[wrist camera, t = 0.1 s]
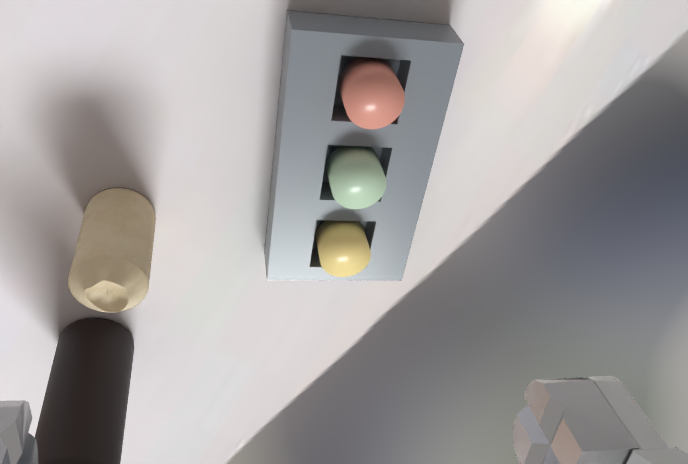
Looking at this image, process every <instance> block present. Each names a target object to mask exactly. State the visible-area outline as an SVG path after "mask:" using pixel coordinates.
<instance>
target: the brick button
mask: <svg viewBox="0 0 688 464" xmlns="http://www.w3.org/2000/svg"><path fill="white" fill-rule="evenodd" d="M339 92H340V95H341V98H342V101H343V104H344V107H345V110H346V113H347V115H348V117H349V119H350V120H351V121H352V122H353V123H354V124H356V125H357V126H359V127H362V128H365V129H379V128H382V127H385V126H387V125H389V124H390V123H392V122H393V121H394V120H395V119H396V118H397V117H398V116H399V115H400V113H401V112H402V109H403V107H404V103H405V94H404V90H403V88H402V86H401V84H400V82H399V80H398V78H397V76H396V74H395V72H394V70H393V68H392V67H391V65H390V64H389V63H388V62H387V61H385V60H384V59H382V58H370V57H360V58H357V59H355V60H353V61H352V62H350V63H349V64H348V65H347V66H346V67H345V68H344V70H343V71H342V73H341V75H340V78H339Z"/></svg>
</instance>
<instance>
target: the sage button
mask: <svg viewBox="0 0 688 464" xmlns="http://www.w3.org/2000/svg"><path fill="white" fill-rule="evenodd" d="M326 171H327V175H328V179H329V183H330V187H331V191H332V195H333V197H334V199H335V200H336V201H337V203H339V204H340V205H341V206H343V207H346V208H349V209H362V208H366V207H369V206H371V205H373V204H374V203H376V202H377V201H378V200H379V199H380V198H381V197H382V195H383V194H384V192H385V189H386V178H385V175H384V172H383V169H382V167H381V164H380V161H379V159H378V156H377V154H376V152H375V151H374V149H373V148H371V147H365V146H343V145H341V146H339V147H338V148H336V149H335V150H334V151H333V152H332V153H331V154H330V156H329V158H328V160H327V164H326Z"/></svg>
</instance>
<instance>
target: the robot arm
mask: <svg viewBox="0 0 688 464" xmlns="http://www.w3.org/2000/svg"><path fill="white" fill-rule="evenodd" d="M524 397H525V399H526V401H527V403H528V405H527V406H526V407H525V408H524V409H523V410H522V411H520V412H519V413H518V414H517V416H516V420H515V423H514V426H513V444H514V448H515V452H516V456H517V458H518V460H519V462H520V464H688V454H687V453H685V452H684V451H682V450H680V449H679V448H677V447H668V446H667V445H666V443H665V442H664V440H663V439H662V438H661V436H660V435H659V434H658V432H657V431H656V429H655V428H654V427H653V425H652V424H651V422H650V421H649V420H648V418H647V417H646V416H645V414H644V413H643V411H642V410H641V409H640V407H639V406H638V405H637V403H636V402H635V401H634V399H633V398H632V396H631V395H630V394H629V392H628V391H627V389H626V388H625V387H624V385H623V384H622V383H621V382H620V381H619V380H618V379H617V378H615V377H614V376H601V377H600V376H599V377H586V378H583V377H579V378H559V379H540V380H533V381H532V382H531V383H530V384H529V385H528V386H527V389H526V391H525V394H524ZM31 421H32V415H31V410H30V406H29V402H27V401H0V464H38V448H37V442H36V438H34V437H33V436H32V435H31V434H29V433H28V431H29V428H30V424H31Z"/></svg>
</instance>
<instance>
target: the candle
mask: <svg viewBox="0 0 688 464" xmlns="http://www.w3.org/2000/svg"><path fill="white" fill-rule="evenodd" d="M155 220H156V218H155V212H154V208H153V206H152V205H151V203H150V202H149V201H148V200H147V199H146V198H145V197H144V196H143V195H141V194H139V193H138V192H135V191H133V190H130V189H125V188H111V189H106V190H104V191H101V192H99V193H98V194H96V195H95V196H94V197H92V199H91V200H90V201H89V203H88V205H87V207H86V210H85V213H84V217H83V221H82V225H81V229H80V233H79V237H78V241H77V245H76V249H75V253H74V257H73V261H72V265H71V269H70V273H69V277H68V286H69V290H70V292H71V293H72V295H73V296H74V298H75V299H76V300H78V301H79V302H80V303H81V304H83V305H85V306H86V307H88V308H91V309H93V310H96V311H101V312H114V313H117V312H120V311H124V310H127V309H130V308H132V307H134V306H136V305H138V304H139V303H140V302H141V301H142V300H143V299H144V298H145V296H146V294H147V292H148V287H149V278H150V269H151V260H152V250H153V241H154V232H155Z"/></svg>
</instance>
